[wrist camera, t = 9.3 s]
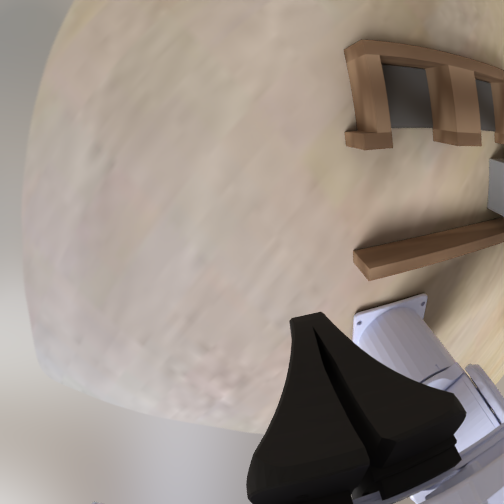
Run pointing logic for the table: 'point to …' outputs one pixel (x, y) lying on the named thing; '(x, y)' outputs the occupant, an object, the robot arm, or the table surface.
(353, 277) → the table surface
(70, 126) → the table surface
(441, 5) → the table surface
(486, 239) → the box
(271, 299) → the table surface
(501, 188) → the slate block
